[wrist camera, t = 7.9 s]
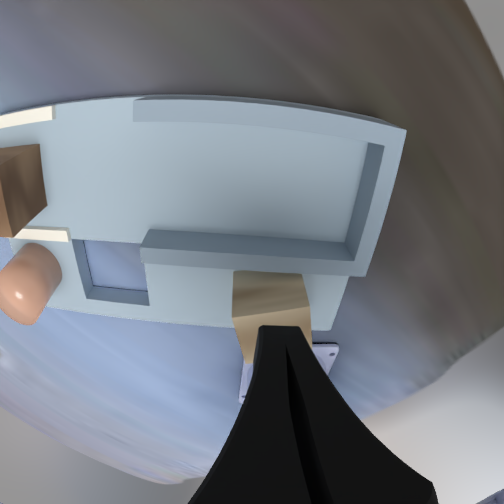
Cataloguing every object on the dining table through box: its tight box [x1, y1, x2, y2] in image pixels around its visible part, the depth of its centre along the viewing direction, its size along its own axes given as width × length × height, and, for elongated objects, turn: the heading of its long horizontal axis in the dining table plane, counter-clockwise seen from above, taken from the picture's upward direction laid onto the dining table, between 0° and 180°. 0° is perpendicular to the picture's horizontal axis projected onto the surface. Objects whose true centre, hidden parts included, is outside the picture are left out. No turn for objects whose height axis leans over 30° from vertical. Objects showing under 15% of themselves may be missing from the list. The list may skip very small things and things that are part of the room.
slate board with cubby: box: [0, 94, 407, 331], centre depth 17 cm, size 15×24×4 cm, turn 84°
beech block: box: [232, 270, 312, 364], centre depth 18 cm, size 4×4×4 cm
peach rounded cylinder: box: [0, 243, 62, 325], centre depth 17 cm, size 4×4×4 cm
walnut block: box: [0, 144, 48, 238], centre depth 13 cm, size 4×4×4 cm
